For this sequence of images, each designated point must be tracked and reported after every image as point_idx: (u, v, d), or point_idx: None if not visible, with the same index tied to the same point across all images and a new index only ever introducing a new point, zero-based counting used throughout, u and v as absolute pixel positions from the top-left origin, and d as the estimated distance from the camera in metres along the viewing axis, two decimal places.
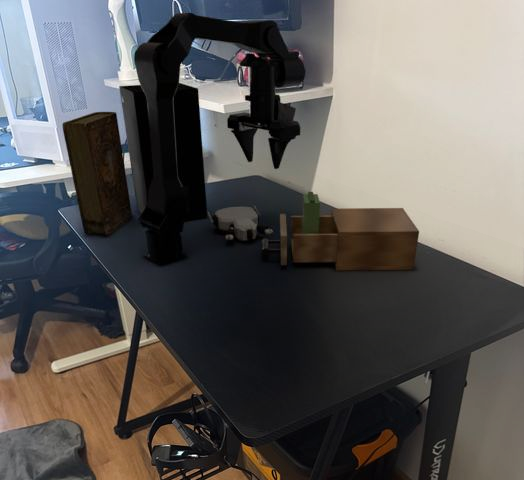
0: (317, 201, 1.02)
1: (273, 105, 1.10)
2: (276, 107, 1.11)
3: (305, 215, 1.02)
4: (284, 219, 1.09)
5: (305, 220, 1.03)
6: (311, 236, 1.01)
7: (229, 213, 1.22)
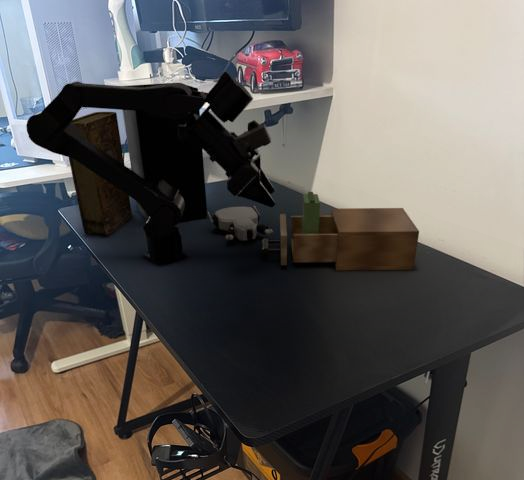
0: (317, 201, 1.02)
1: (229, 152, 0.96)
2: None
3: (305, 215, 1.02)
4: (284, 219, 1.09)
5: (305, 220, 1.03)
6: (311, 236, 1.01)
7: (229, 213, 1.22)
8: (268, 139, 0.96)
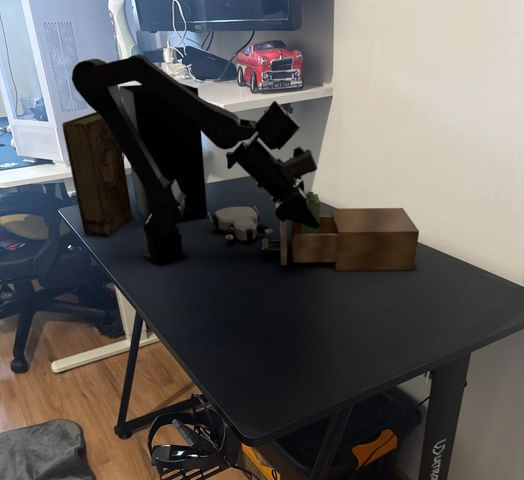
0: (317, 201, 1.02)
1: (276, 178, 0.99)
2: None
3: None
4: None
5: None
6: (311, 236, 1.01)
7: (229, 213, 1.22)
8: (315, 166, 0.98)
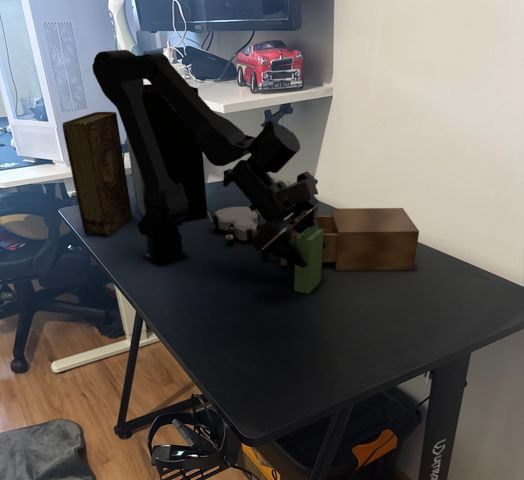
0: (310, 238, 0.90)
1: (267, 203, 0.90)
2: None
3: None
4: None
5: None
6: None
7: (229, 213, 1.22)
8: (307, 195, 0.87)
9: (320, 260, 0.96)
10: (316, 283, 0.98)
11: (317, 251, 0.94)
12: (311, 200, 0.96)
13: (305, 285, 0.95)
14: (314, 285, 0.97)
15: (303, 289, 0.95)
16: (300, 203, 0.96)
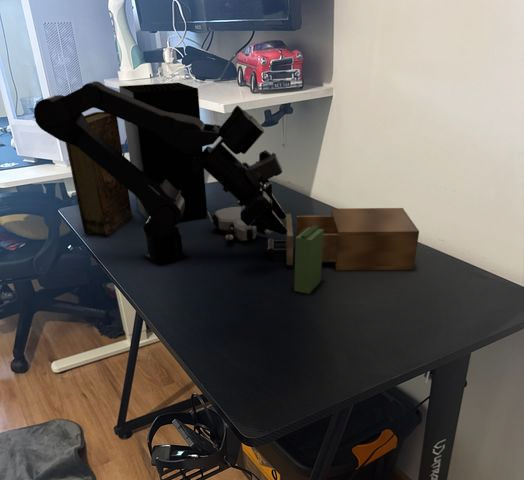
0: (310, 238, 0.90)
1: (242, 182, 0.99)
2: None
3: (296, 251, 0.92)
4: (290, 219, 1.09)
5: (296, 256, 0.92)
6: None
7: (229, 213, 1.22)
8: (279, 169, 0.98)
9: (320, 260, 0.96)
10: (316, 283, 0.98)
11: (317, 251, 0.94)
12: None
13: (305, 285, 0.95)
14: (314, 285, 0.97)
15: (303, 289, 0.95)
16: None
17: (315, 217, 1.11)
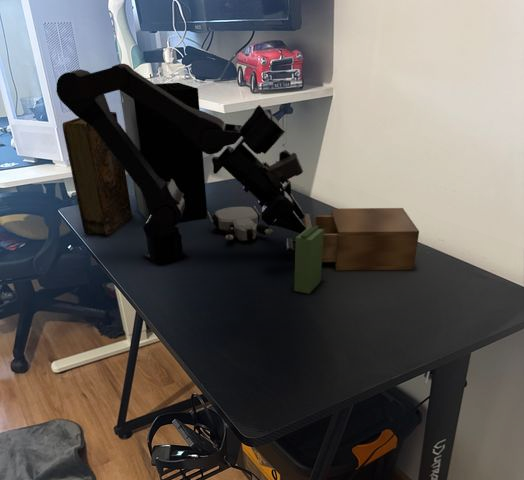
0: (310, 238, 0.90)
1: (262, 182, 0.99)
2: None
3: (296, 251, 0.92)
4: (309, 219, 1.09)
5: (296, 256, 0.92)
6: (337, 236, 1.01)
7: (229, 213, 1.22)
8: (300, 169, 0.98)
9: (320, 260, 0.96)
10: (316, 283, 0.98)
11: (317, 251, 0.94)
12: None
13: (306, 285, 0.95)
14: (314, 285, 0.97)
15: (303, 289, 0.95)
16: None
17: None
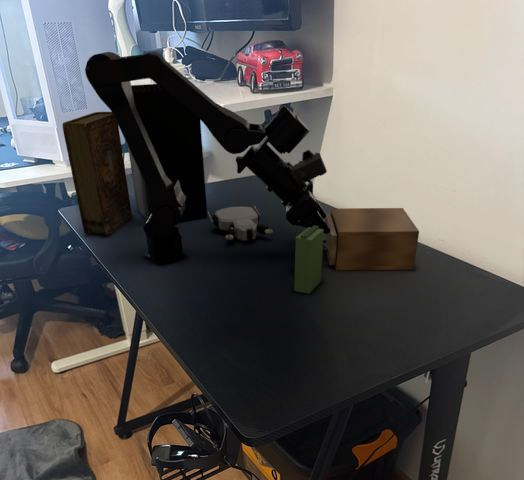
0: (310, 238, 0.90)
1: (286, 182, 0.99)
2: None
3: (296, 251, 0.92)
4: (330, 219, 1.09)
5: (296, 256, 0.92)
6: None
7: (229, 213, 1.22)
8: (324, 169, 0.98)
9: (320, 260, 0.96)
10: (316, 283, 0.98)
11: (317, 251, 0.94)
12: None
13: (305, 285, 0.95)
14: (314, 285, 0.97)
15: (303, 289, 0.95)
16: None
17: None
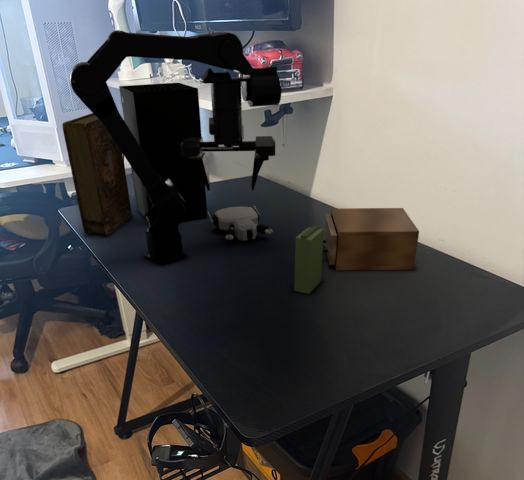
0: (310, 238, 0.90)
1: None
2: None
3: (296, 251, 0.92)
4: (330, 219, 1.09)
5: (296, 256, 0.92)
6: None
7: (229, 213, 1.22)
8: None
9: (320, 260, 0.96)
10: (316, 283, 0.98)
11: (317, 251, 0.94)
12: None
13: (306, 285, 0.95)
14: (314, 285, 0.97)
15: (303, 289, 0.95)
16: (202, 141, 1.04)
17: None
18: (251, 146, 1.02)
